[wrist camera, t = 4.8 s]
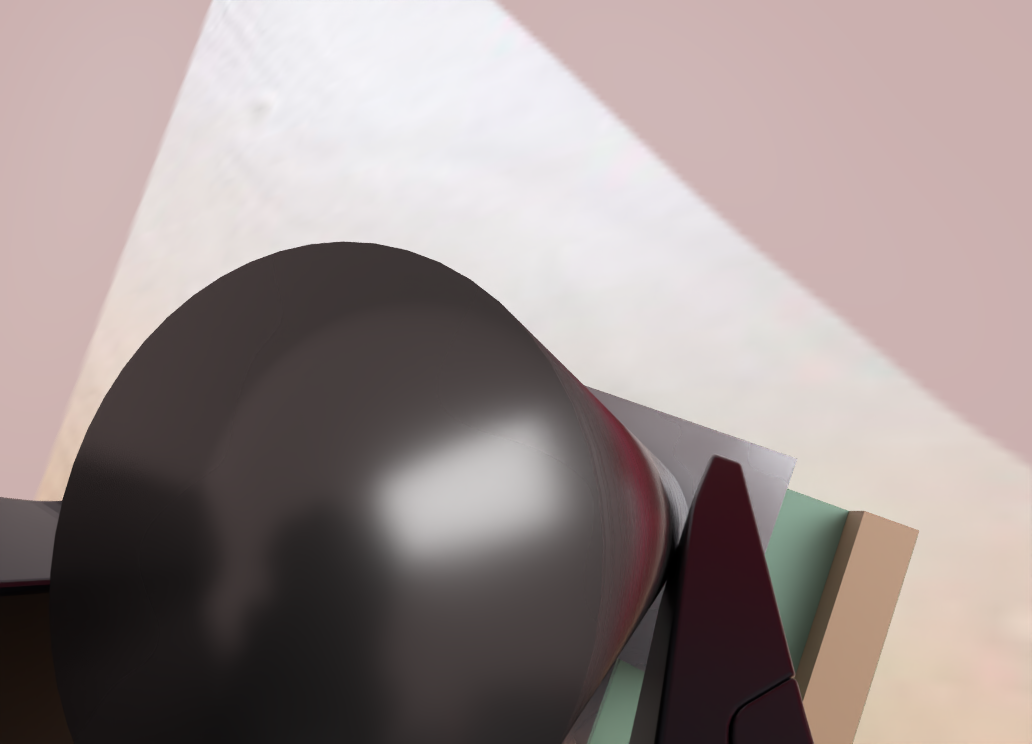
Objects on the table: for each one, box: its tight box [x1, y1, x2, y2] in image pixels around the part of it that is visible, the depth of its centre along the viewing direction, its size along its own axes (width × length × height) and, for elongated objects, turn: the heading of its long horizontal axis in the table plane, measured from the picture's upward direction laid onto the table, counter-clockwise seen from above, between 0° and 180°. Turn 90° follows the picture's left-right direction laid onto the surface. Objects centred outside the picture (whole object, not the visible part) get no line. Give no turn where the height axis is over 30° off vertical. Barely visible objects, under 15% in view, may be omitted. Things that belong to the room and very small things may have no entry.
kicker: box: [49, 242, 797, 744], centre depth 9 cm, size 10×8×13 cm
